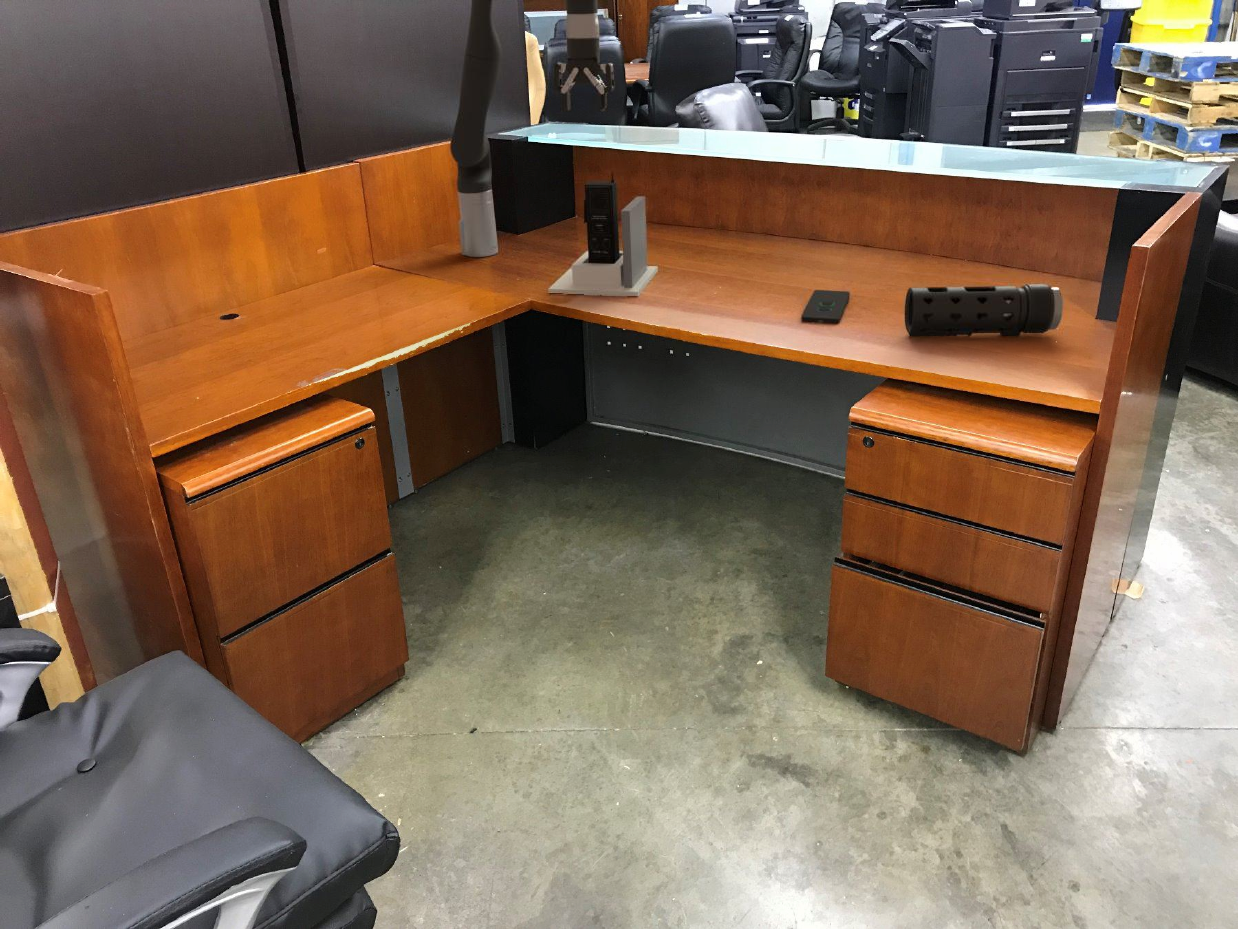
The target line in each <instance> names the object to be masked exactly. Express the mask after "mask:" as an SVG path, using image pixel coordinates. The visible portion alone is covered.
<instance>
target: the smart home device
mask: <svg viewBox="0 0 1238 929" xmlns="http://www.w3.org/2000/svg"><path fill="white" fill-rule="evenodd" d="M850 295H851V294H850V291H845V290H830V289H829V290H828V289H827V290H825V289H815V290H813V292H812V295H811V296H810V298H809V300H808V302H807V304H806V306H805V308H804V310H803V312H802V314H800V315H801V318H800V320H801V323H812V322H814V324H827V325H828V324H830V325H838V324H839V323H840V322H841V321H842V320H841V319H842V316H843V315H844V312H845V309H846V308H847V305H848V304H849V300H850Z"/></svg>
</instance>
